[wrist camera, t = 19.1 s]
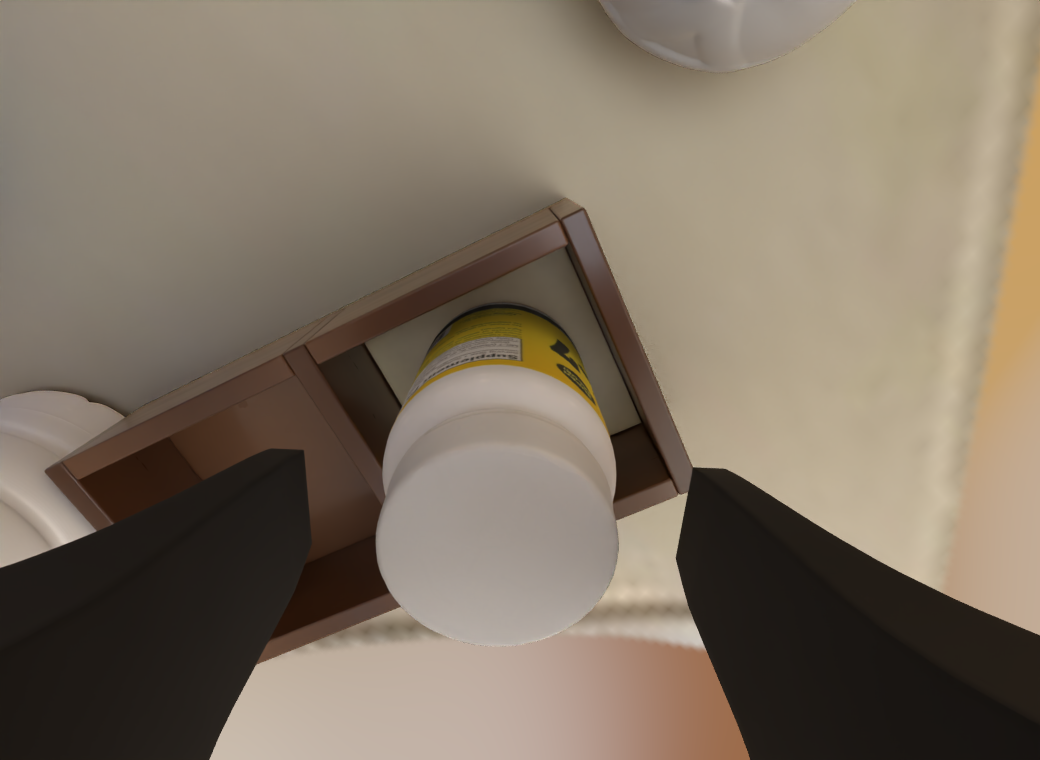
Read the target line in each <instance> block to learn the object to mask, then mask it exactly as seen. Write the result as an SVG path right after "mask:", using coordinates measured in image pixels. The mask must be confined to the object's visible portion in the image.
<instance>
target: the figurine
mask: <svg viewBox="0 0 1040 760" xmlns="http://www.w3.org/2000/svg"><path fill="white" fill-rule="evenodd" d="M598 1H599V3H600V4H601V6H602V7H603V9H604V11H605V12H606V14H607V15H608V17H609V18H610V19H611V21H612V22H613V23H614V25H615V26H616V27H617V28H618V30H619V31H620V32H621V33H622V34H623V35H624V36H625V37H626V38H627V39H629V40H630V41H631V42H633V43H634V44H636V45H637V46H639V47H640V48H642V49H643V50H645V51H647V52H648V53H650V54H652V55H654V56H656V57H658V58H660V59H663V60H665V61H668V62H670V63H673V64H675V65H678V66H681V67H685V68H689V69H693V70H699V71H705V72H710V73H728V72H734V71H738V70H742V69H746V68H750V67H754V66H757V65H761V64H764V63H767V62H769V61H772V60H774V59H777V58H779V57H781V56H784V55H786V54H788V53H789V52H791V51H793V50H795V49H797V48H798V47H800V46H801V45H803V44H804V43H806V42H807V41H809V40H810V39H811V38H812V37H814V36H815V35H817V34H818V33H820V32H821V31H822V30H824V29H825V28H826V27H828V26H829V25H830V24H831V23H833V22H834V21H835V20H836V19H837V18H839V17H840V16H841V15H842V14H843V13H844V12H845V11H846V10H847V9H848V8H850V7H851V6H852V5H853V4H854V3H855V2H856V1H857V0H598Z"/></svg>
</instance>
